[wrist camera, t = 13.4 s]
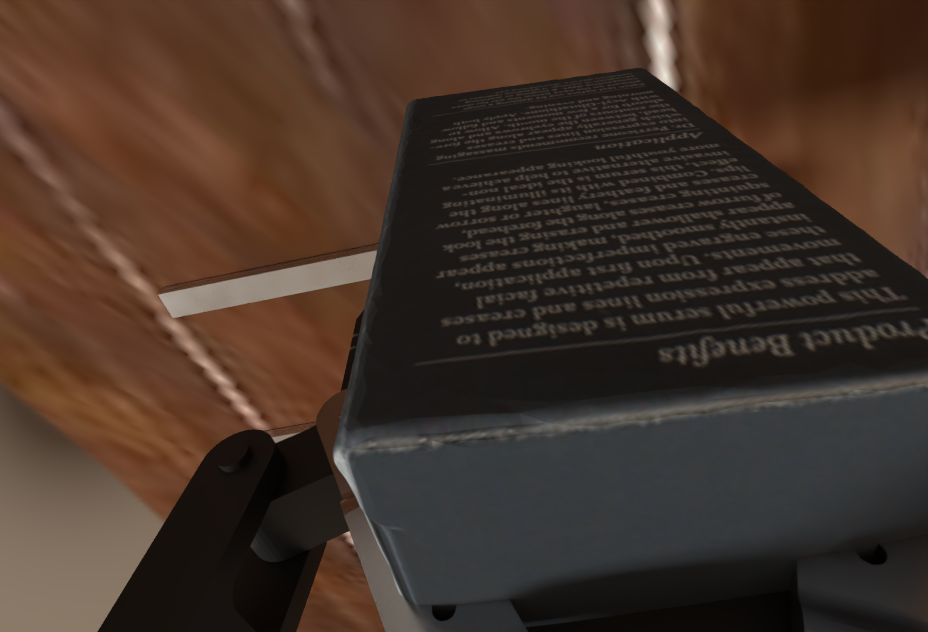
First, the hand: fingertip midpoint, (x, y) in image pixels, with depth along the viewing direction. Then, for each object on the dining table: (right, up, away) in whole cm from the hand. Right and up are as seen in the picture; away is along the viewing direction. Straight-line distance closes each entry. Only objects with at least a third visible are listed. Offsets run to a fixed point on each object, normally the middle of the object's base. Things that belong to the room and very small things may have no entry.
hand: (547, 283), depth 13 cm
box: (0, +2, +2) cm, 3 cm away
